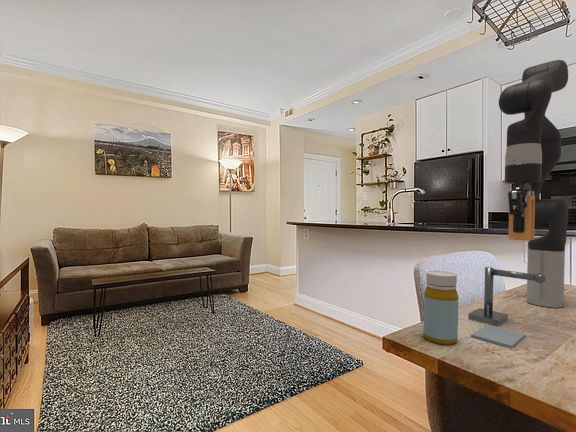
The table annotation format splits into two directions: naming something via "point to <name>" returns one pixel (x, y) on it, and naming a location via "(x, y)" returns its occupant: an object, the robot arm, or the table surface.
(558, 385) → the table surface
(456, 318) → the bottle
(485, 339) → the mat
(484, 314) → the stand
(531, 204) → the link
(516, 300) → the table surface
